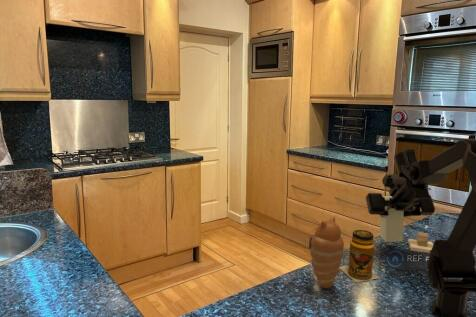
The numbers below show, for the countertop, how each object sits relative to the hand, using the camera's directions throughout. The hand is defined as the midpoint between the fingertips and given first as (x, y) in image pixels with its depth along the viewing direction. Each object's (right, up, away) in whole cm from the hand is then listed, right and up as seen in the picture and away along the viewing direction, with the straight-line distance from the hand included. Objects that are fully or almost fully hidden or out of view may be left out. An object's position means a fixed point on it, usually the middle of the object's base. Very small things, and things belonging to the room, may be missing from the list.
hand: (389, 216), depth 112 cm
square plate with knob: (+11, -10, +2) cm, 15 cm away
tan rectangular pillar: (0, -7, 0) cm, 7 cm away
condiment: (-15, -13, -15) cm, 25 cm away
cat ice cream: (-26, -14, -22) cm, 37 cm away
